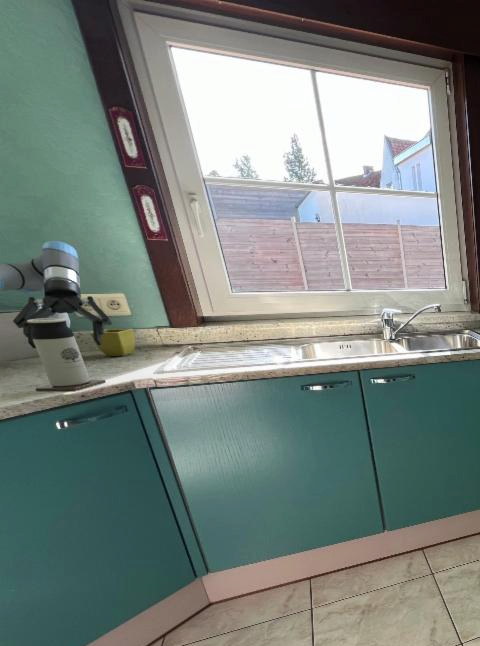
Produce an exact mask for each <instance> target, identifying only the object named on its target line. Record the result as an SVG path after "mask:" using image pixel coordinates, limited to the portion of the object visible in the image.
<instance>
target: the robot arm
mask: <svg viewBox="0 0 480 646" xmlns="http://www.w3.org/2000/svg"><path fill="white" fill-rule="evenodd" d="M80 278H81V277H80V259H79V255H78V252H77V250H76V249H75V248H74V247H73V246H72V245H70V244H68V243H65V242H62V241H57V240H49V241H46V242H44V243H43V244H42V247H41V254H38V255H37V256H35V257H33V258H32V259H30V260H28V261H26V262H20V263H19V262H17V263H16V262H15V263H12V262H11V263H6V262H5V263H2V262H1V263H0V292H5V291H18V292H21V293H25V294H29V295H30V294H31V295H32V294H35V293H38V292H41V291H44V292H43V293H44V297H43V298H35V297H34V296H29V297H28V301H27V303H26V304H25V306H24V307H23V308H22V309H21V311H19V313H18V314H17V315H16V316H15V317H14V319H13V320H12V323H14V325H15V326H16V327H17V328H18V329H22V334H23V335H24V336H25V337H26V338H27V343H28V344H29V346H30V347H31V348H32V349H36V346H35V344H34V341H33V339H32V336H31V334H30V332H31V329H32V327H31V325H30V324H29V322H27V320H31V319H40V318H48V317H49V316H50V315H51V316H53V315H54V314H55V313H67V314H73V313H77V314H78V315H81V316H82V317H84V318H86V319H88V320H89V321H90V322H92V329H93V330H92V332H93V333H94V340H95V342H96V343H97V345H101V334H104V333H105V331H104V330H105V326H111V325H113V322H112V321H111V319H110V317H109V316H108V315H107V314H106V313H105V312H104V311H103V310H102V309H101V308H100V306H98V304H97V302H96V300H95V299H94V297H93V296H92V295H88V296H87V297H86V298H82V292H81V279H80ZM84 304H85V305H87V306H88V307H91V308H92V310H93V311H94V312H95V313H96V314H97V315H98V316H99V317H98V316H97V315H95V314H93V313H91V311H88V310H87V309H85V308H84V307H83V305H84ZM38 307H42V308H41V309H40V310H38ZM49 308H50V309H51V310H50V309H49ZM94 340H93V341H94ZM95 342H94V343H95ZM97 345H96V346H97Z"/></svg>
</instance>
